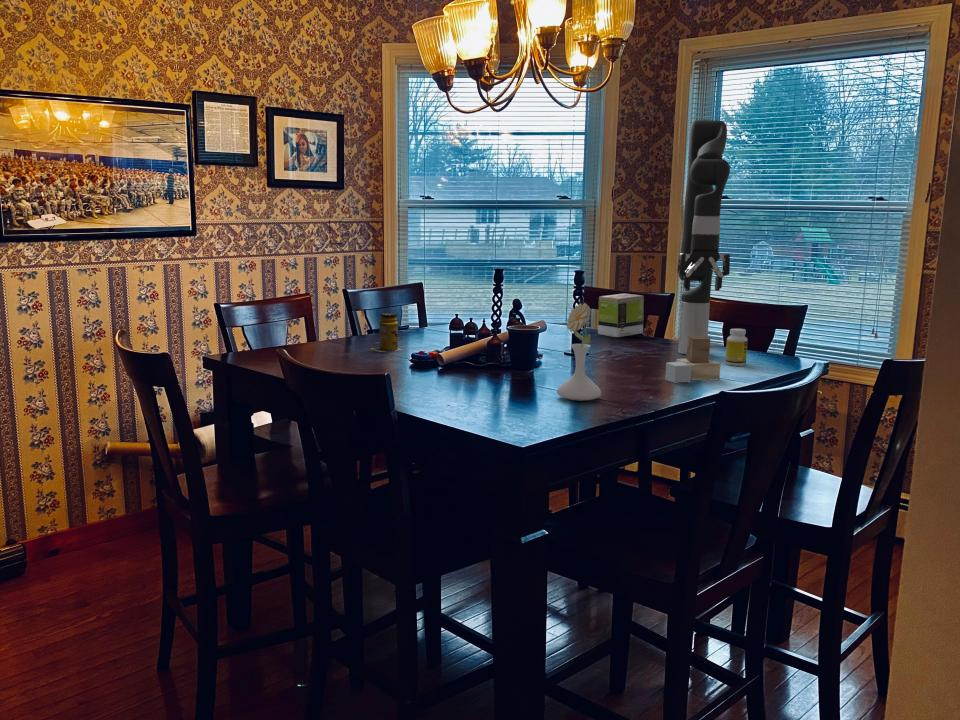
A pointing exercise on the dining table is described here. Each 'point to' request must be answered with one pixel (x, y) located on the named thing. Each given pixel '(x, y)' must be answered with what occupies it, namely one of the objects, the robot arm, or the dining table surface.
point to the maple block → (703, 370)
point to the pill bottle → (736, 348)
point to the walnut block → (698, 349)
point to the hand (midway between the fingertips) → (702, 290)
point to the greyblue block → (678, 372)
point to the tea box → (620, 315)
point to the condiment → (388, 333)
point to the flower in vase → (579, 360)
